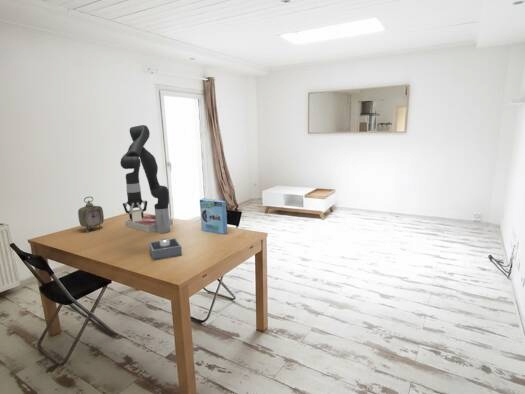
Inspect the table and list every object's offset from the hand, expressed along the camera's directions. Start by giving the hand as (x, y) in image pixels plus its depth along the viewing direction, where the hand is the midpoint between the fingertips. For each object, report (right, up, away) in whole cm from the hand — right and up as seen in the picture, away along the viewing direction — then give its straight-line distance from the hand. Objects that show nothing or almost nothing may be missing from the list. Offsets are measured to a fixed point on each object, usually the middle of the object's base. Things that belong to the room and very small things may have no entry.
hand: (136, 218), depth 191 cm
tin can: (+18, -19, -3) cm, 26 cm away
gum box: (+41, -12, +36) cm, 56 cm away
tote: (+18, -20, -3) cm, 27 cm away
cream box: (0, -1, 0) cm, 1 cm away
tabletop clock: (-50, -12, +45) cm, 69 cm away
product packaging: (-12, -10, +54) cm, 56 cm away
